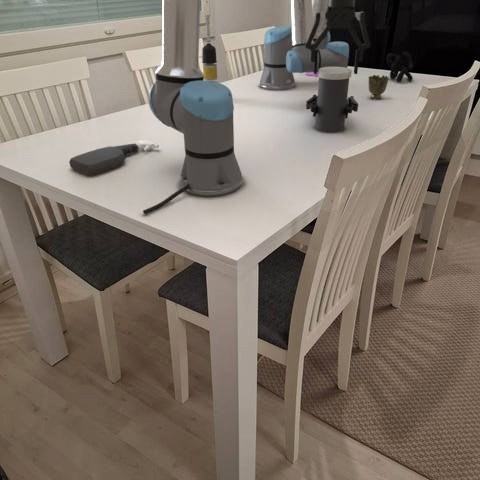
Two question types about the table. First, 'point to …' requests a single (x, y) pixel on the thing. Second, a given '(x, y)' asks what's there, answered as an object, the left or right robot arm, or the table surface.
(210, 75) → the filter
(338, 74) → the lid
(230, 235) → the table surface
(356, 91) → the table surface
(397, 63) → the squiggle
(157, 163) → the table surface
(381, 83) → the cup
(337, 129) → the jar
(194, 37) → the left robot arm
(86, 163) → the spray bottle
